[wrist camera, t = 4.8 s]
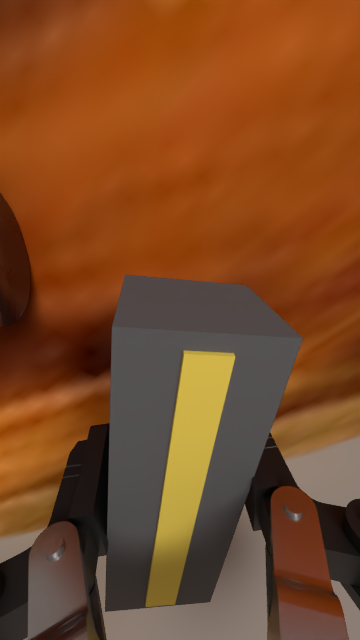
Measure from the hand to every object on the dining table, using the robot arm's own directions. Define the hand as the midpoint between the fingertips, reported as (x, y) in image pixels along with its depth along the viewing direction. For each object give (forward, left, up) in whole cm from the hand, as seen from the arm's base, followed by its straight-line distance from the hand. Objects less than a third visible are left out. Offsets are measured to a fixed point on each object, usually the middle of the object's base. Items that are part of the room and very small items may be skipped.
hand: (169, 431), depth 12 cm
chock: (0, 0, -1) cm, 1 cm away
